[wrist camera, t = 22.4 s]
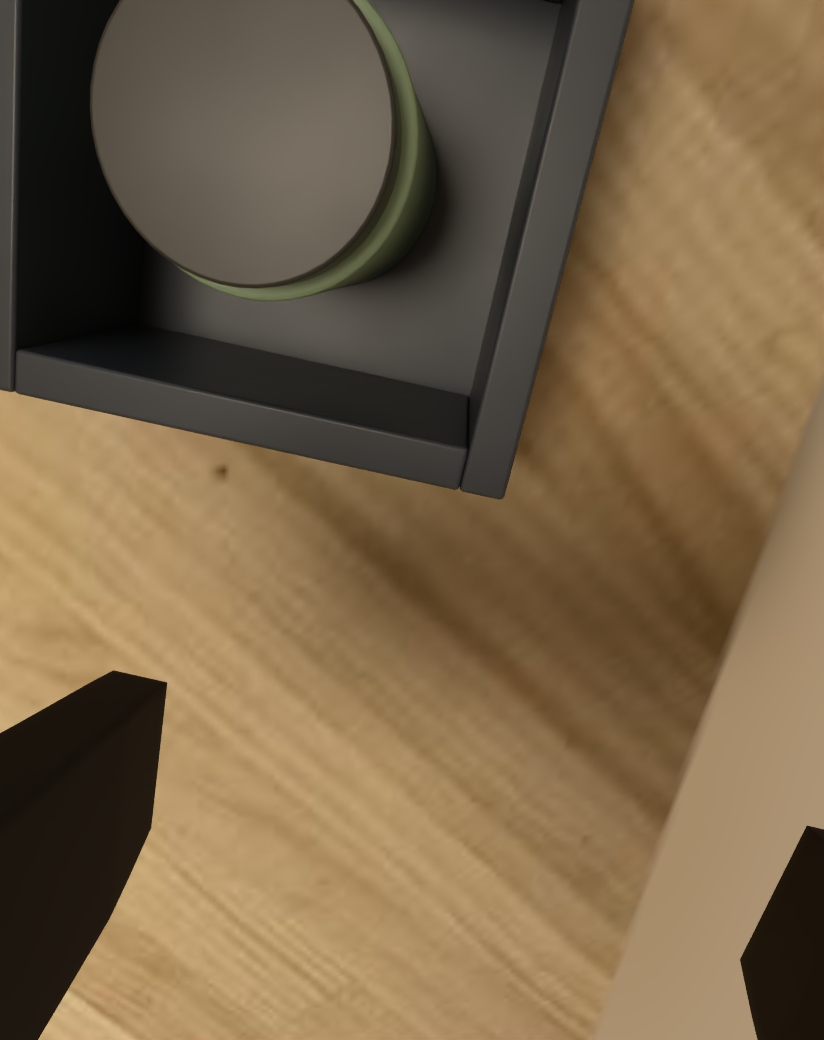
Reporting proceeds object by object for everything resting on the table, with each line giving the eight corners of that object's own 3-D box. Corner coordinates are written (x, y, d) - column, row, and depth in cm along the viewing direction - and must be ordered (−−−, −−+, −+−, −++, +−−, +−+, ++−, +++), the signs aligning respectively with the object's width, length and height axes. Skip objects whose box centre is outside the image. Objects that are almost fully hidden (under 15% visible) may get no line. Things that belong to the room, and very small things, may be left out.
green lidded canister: (460, 86, 14) (452, -34, 8) (409, 308, 15) (371, 340, 9) (246, 31, 14) (85, -129, 8) (215, 258, 15) (58, 261, 9)
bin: (605, -22, 13) (681, -177, 9) (493, 429, 16) (503, 501, 11) (147, -122, 13) (-34, -334, 9) (117, 345, 16) (-33, 384, 11)
